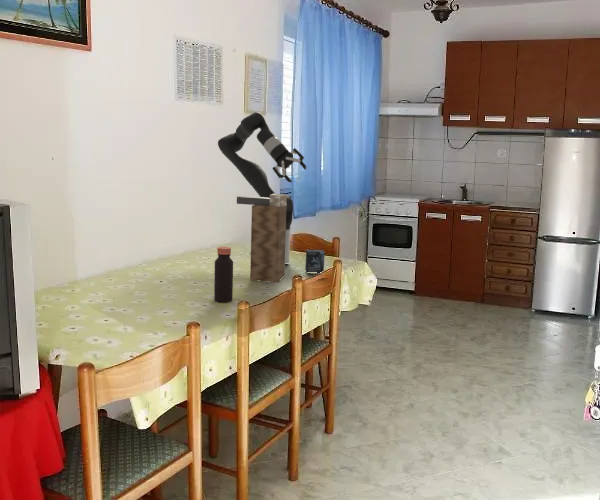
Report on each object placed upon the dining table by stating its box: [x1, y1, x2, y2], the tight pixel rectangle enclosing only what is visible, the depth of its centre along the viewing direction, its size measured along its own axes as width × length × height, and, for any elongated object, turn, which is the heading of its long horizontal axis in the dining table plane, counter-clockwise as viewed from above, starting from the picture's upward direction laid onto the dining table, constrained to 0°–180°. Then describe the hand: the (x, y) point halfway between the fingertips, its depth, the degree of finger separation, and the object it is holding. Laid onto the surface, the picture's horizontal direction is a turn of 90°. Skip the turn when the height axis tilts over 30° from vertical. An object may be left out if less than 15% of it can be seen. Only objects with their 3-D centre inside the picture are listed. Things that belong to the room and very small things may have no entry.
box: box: [304, 249, 325, 273], centre depth 291 cm, size 8×6×11 cm
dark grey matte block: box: [236, 195, 270, 206], centre depth 272 cm, size 19×4×3 cm, turn 78°
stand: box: [249, 193, 288, 283], centre depth 274 cm, size 12×12×37 cm
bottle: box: [213, 246, 234, 303], centre depth 237 cm, size 7×7×20 cm
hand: (298, 175), depth 284 cm, fingers open, 8 cm apart
